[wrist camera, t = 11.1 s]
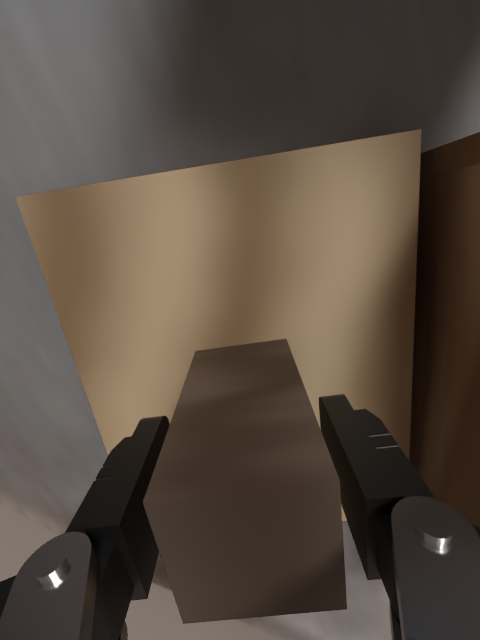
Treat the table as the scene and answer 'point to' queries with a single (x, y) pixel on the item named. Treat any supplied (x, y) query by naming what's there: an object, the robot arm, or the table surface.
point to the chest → (448, 328)
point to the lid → (242, 349)
